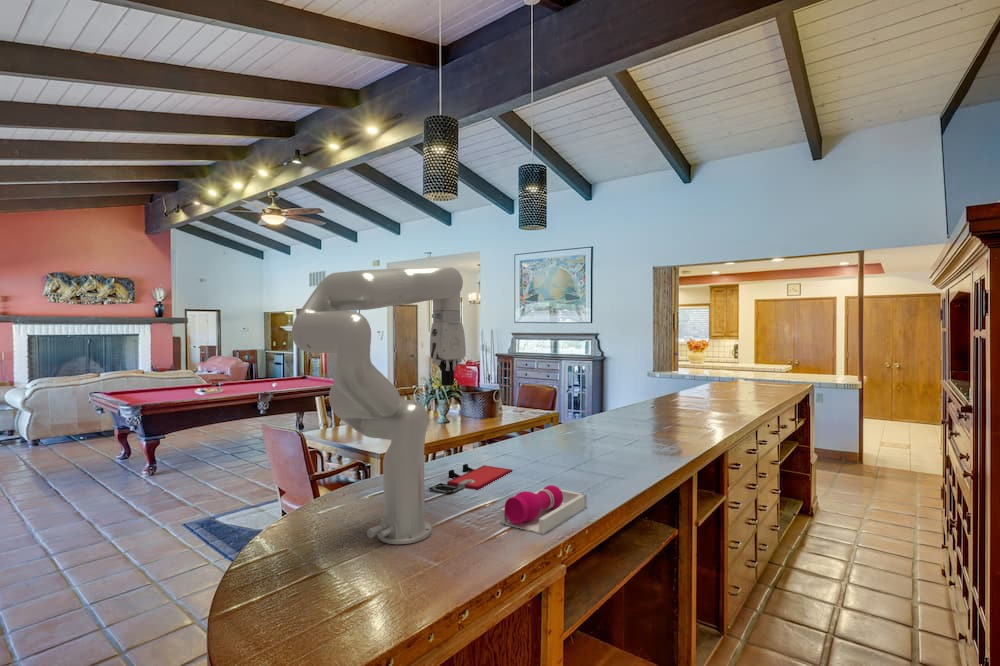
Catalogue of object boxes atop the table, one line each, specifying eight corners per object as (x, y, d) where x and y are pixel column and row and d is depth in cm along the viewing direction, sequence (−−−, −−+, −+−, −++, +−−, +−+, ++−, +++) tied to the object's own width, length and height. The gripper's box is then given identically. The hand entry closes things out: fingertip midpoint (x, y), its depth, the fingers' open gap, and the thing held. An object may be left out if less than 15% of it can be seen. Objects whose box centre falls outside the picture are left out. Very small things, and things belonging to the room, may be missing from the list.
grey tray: (543, 534, 115) (543, 519, 115) (500, 523, 123) (500, 509, 123) (586, 507, 133) (586, 494, 133) (546, 498, 140) (546, 486, 140)
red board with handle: (422, 490, 150) (464, 499, 142) (422, 481, 150) (464, 489, 142) (475, 467, 176) (512, 473, 169) (475, 460, 176) (512, 465, 169)
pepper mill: (511, 531, 120) (557, 512, 135) (530, 518, 116) (576, 500, 131) (498, 502, 123) (545, 487, 138) (517, 490, 119) (563, 475, 134)
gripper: (437, 317, 127) (438, 388, 127) (474, 318, 139) (475, 383, 139) (417, 318, 132) (418, 387, 132) (454, 318, 144) (455, 382, 144)
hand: (447, 385), depth 136 cm, fingers closed
